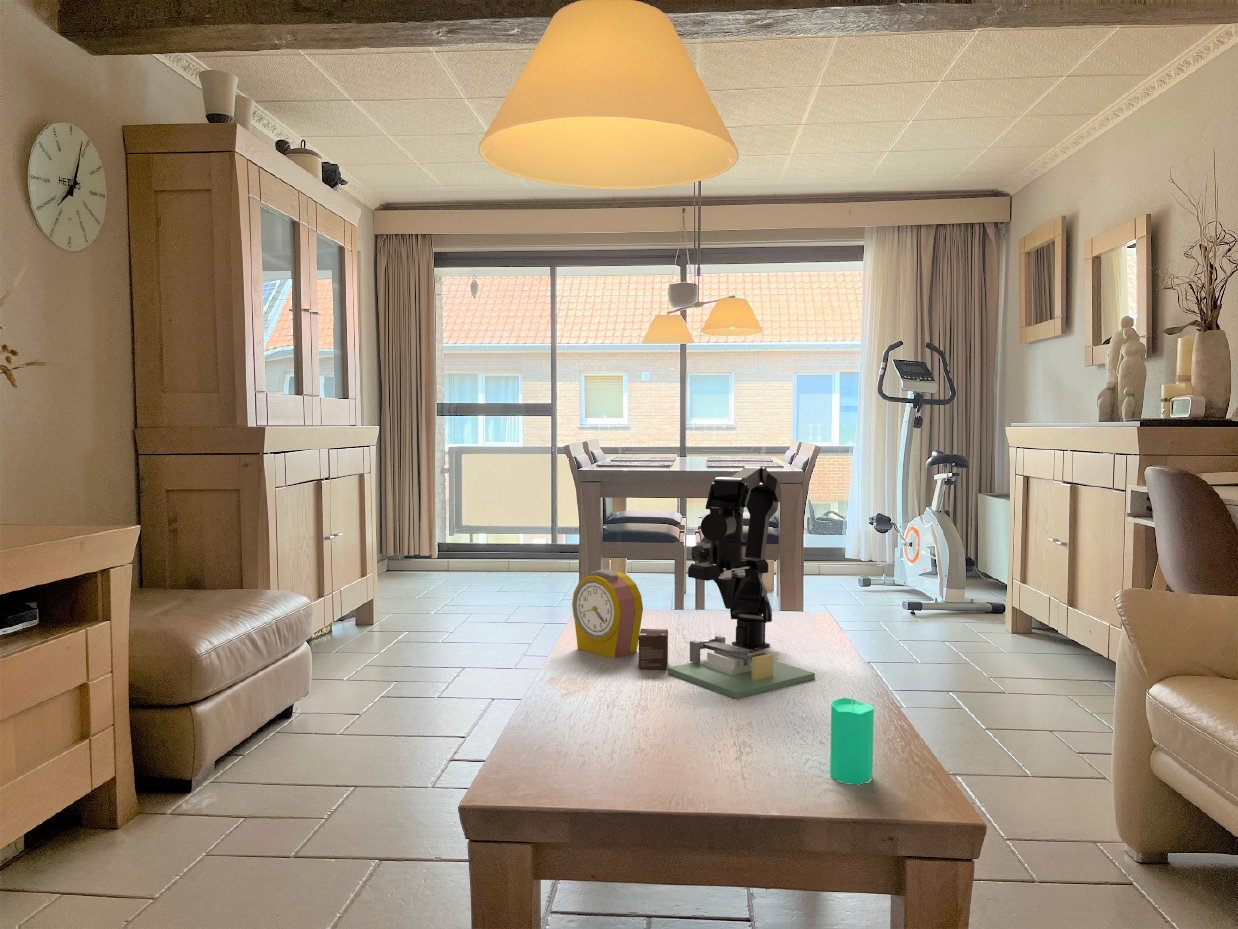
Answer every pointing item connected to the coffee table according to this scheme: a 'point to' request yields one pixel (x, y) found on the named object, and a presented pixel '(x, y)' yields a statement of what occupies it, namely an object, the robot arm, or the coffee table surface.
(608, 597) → the alarm clock
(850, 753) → the candle
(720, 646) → the grey hinged lever
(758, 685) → the board
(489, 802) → the coffee table surface
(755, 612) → the robot arm
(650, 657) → the box
